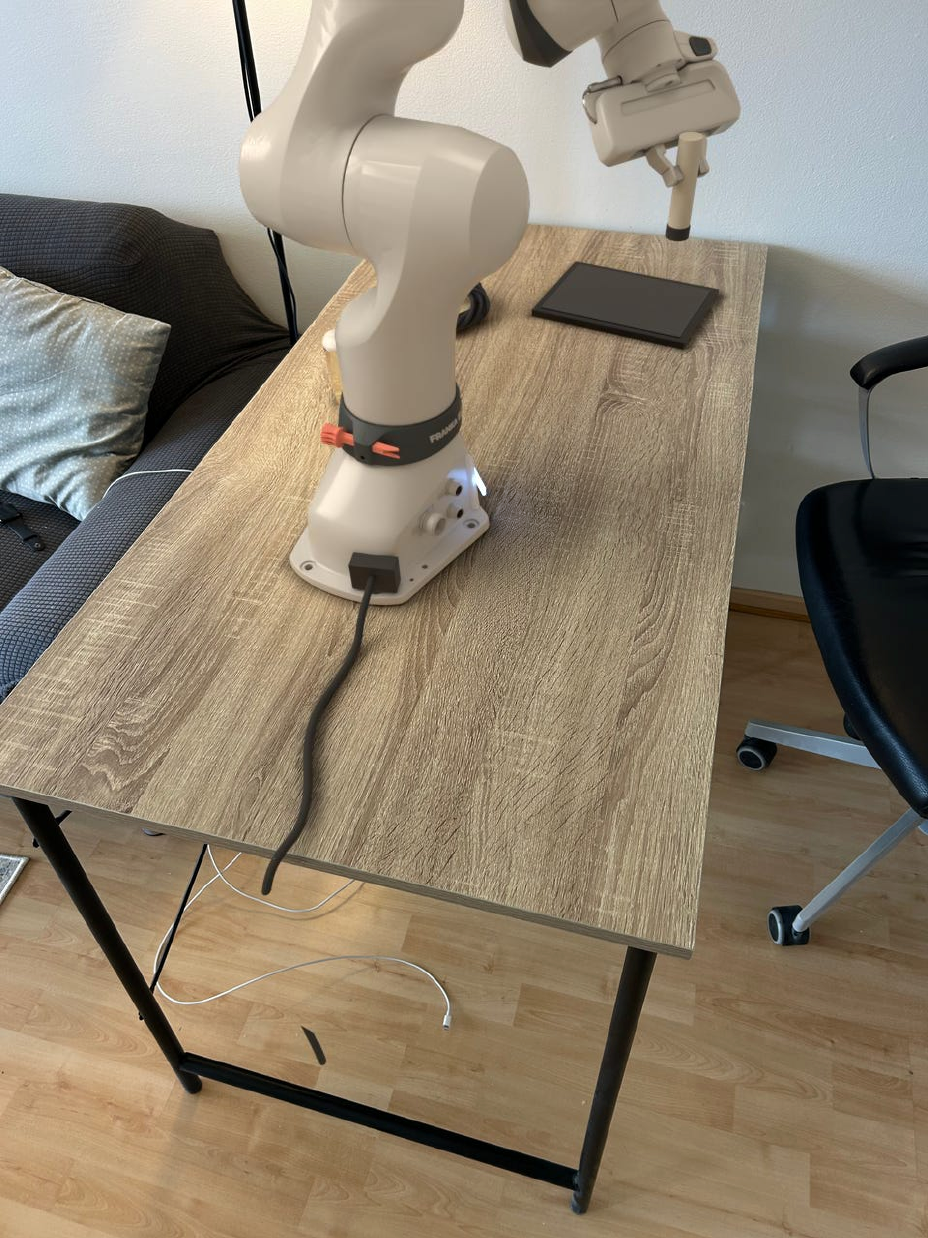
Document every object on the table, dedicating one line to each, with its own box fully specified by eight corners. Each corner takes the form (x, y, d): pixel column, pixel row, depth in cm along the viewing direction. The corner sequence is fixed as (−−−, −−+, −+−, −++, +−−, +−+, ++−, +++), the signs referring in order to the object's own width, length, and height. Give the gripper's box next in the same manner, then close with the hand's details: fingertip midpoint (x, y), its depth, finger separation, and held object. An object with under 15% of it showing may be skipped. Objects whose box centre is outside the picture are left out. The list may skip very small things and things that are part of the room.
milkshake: (371, 408, 111) (362, 335, 104) (329, 409, 111) (316, 335, 104) (375, 388, 114) (366, 315, 107) (333, 388, 114) (321, 316, 107)
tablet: (683, 349, 118) (684, 342, 117) (531, 315, 125) (531, 308, 125) (718, 295, 128) (719, 288, 127) (575, 267, 135) (575, 259, 134)
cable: (500, 299, 129) (500, 270, 126) (474, 349, 120) (473, 319, 117) (388, 286, 133) (385, 258, 129) (354, 334, 123) (350, 305, 120)
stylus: (684, 243, 114) (699, 141, 105) (662, 238, 115) (675, 138, 106) (692, 233, 115) (707, 133, 107) (669, 229, 116) (683, 129, 108)
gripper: (589, 70, 101) (636, 188, 103) (724, 35, 108) (766, 146, 110) (564, 103, 107) (608, 213, 109) (693, 68, 114) (733, 172, 116)
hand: (689, 179), depth 109 cm, fingers closed on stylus, 3 cm apart
